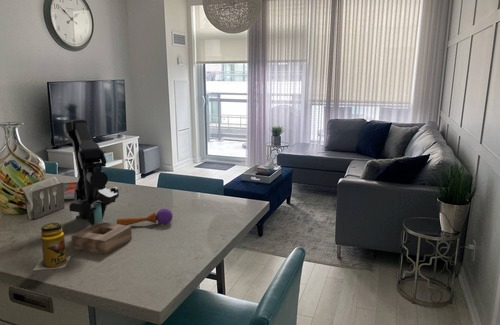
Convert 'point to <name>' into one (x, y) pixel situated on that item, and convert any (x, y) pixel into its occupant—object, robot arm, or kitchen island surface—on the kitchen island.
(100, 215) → the pin
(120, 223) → the wooden maraca
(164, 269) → the kitchen island surface
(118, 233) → the hole block
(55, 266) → the condiment
